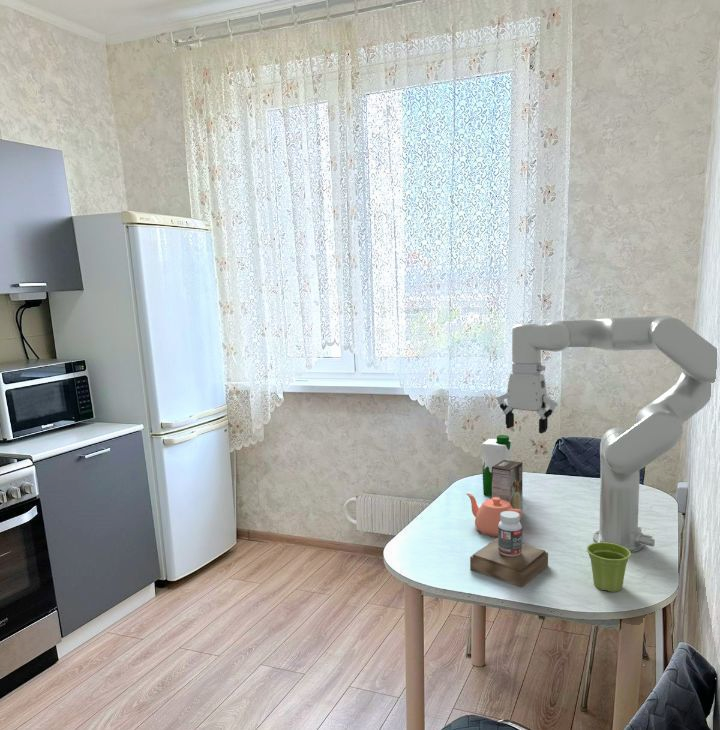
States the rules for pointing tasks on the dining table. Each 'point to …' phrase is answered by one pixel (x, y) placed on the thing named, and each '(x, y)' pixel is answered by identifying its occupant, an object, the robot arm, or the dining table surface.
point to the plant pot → (608, 565)
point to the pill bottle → (510, 534)
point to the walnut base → (509, 563)
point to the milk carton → (494, 458)
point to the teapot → (490, 514)
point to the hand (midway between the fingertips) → (526, 429)
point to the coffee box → (508, 482)
